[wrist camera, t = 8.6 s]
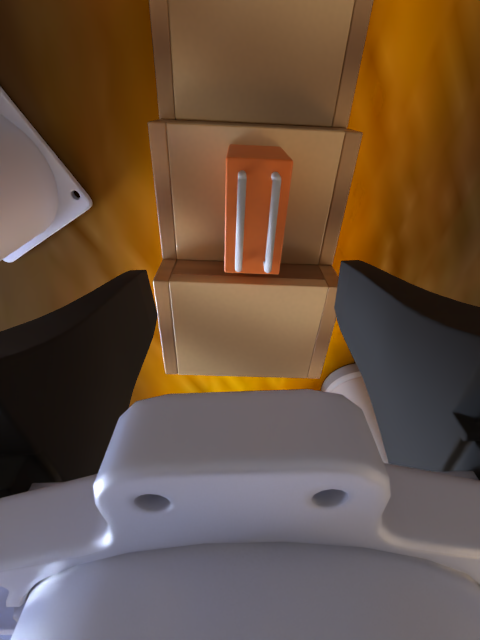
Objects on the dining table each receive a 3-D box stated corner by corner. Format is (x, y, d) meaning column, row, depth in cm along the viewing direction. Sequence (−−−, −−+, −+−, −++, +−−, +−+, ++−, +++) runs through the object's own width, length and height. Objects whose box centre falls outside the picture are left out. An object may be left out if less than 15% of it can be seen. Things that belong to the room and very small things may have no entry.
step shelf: (150, -66, 13) (89, -180, 8) (374, -51, 13) (463, -153, 8) (181, 314, 24) (165, 374, 19) (302, 318, 25) (319, 378, 19)
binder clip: (228, 143, 14) (224, 160, 10) (281, 146, 14) (297, 163, 10) (227, 239, 17) (223, 281, 13) (271, 241, 17) (281, 283, 13)
